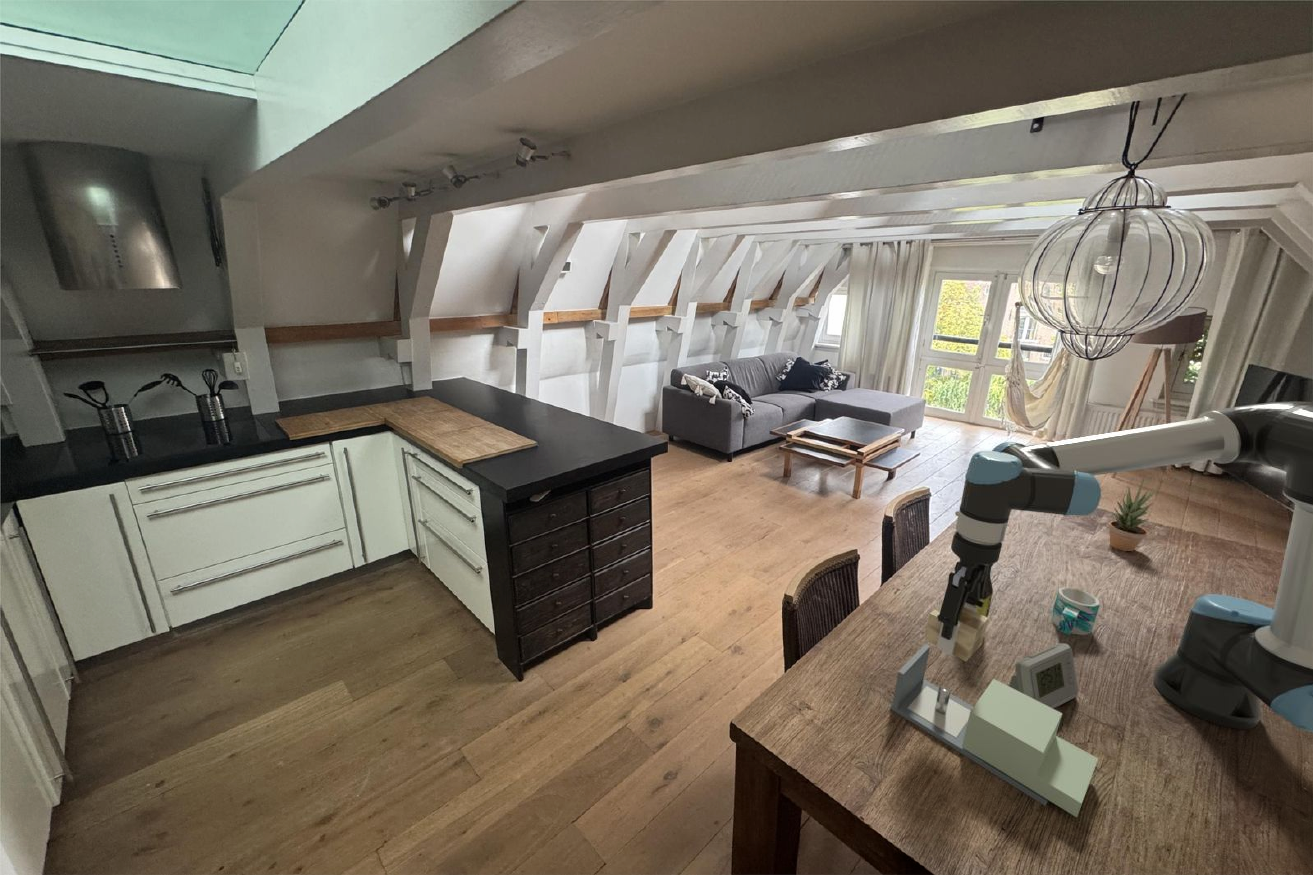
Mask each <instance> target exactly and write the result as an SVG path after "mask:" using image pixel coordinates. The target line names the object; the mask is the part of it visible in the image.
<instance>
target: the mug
mask: <svg viewBox="0 0 1313 875" xmlns="http://www.w3.org/2000/svg"><path fill="white" fill-rule="evenodd" d="M1100 606H1101V603H1100V600H1099V598H1097V597H1096V596H1095V595H1093V594H1092V593H1090V592H1087V591H1084V590H1081V589H1079V588H1077V587H1076V588H1075V587H1067V586H1064V587H1060V588H1058V590H1057V594H1056V598H1055V600H1054V604H1053V608H1052V612H1051V616H1050V619H1051V622H1052V623H1053V624H1054V625H1055V626H1057V631H1059V632H1062V633H1064V634H1067V635H1069V636H1071V635H1072V634H1073V635H1074V634H1075V635H1082V636H1086V635H1089V634H1091V633H1092V631H1093V629H1094V625H1095V621H1096V618H1097V616H1098V613H1099V612H1098V611H1099V609H1100Z"/></svg>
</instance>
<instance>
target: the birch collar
mask: <svg viewBox="0 0 1313 875" xmlns="http://www.w3.org/2000/svg"><path fill="white" fill-rule="evenodd" d="M942 603H943V602H942ZM942 603H940V604H939V605H938V606H937V607H935V608H934V609H933V610H932V611H931V612H930V613H929V615H928V616H929V617H928V621H927V625H926V630H925V634H924V638H923V640H924V641H927V642H928V643H930V644H933V645H934V646H935V647H936V646H937V642H938V637H939V633H940V628H941V624H942V622H940V621H938V618H937V616H938V615H939V614H940V610H941V607H942ZM989 619H990V618H989V617H988V618H987V617H985V616H983V615H981V614H979V613H976V612H974V611H972V610H969V609H967V608H965V607H964V608H963V610H962V613H961V616H960V619H959V621H958V624H960V626H959V630H958V634H957V638H956V643H955V647H954V651H953V654H952V655H953V656H955V657H957V658H959V659H961V660H962V661H964V662H967V661H968V660H969V659H970V658H971V657H972V656H973V655H974V654H975V652H976V651H978V649H979V648H980V647H981V646H982V645H983V641H984V637H985V634H986V631H987V626H988V623H989Z"/></svg>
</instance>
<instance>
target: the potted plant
mask: <svg viewBox="0 0 1313 875" xmlns="http://www.w3.org/2000/svg"><path fill="white" fill-rule="evenodd" d="M1144 480H1145V477H1143V479H1142V480H1141V483H1140V485H1139V487H1138V490H1137V494H1136V496H1135V498H1134V501H1132V500H1133V499H1132V494H1131V488H1130V487H1128V489H1127V493H1126V497H1125V498H1126V499H1124V498H1122V504H1121V503H1120V502H1119V501H1118V500H1117V501H1116V502H1117V503H1116V504H1117V506H1118V508H1119V510H1120V512H1121V513H1119V512H1118V510H1117V509H1116V508H1114V509H1113V510H1114V511H1115V512H1116V513H1117V514H1116V513H1114V511H1111V513H1112V514H1113V515H1114V516H1115V520H1111V521H1109V523H1108V527H1107V528H1108V529H1109V544H1110V546H1111V547H1112V548H1113V547H1114V548H1113V549H1116V550H1118V549H1120V550H1119V551H1121V550H1123V551H1122V552H1126V551H1132V552H1134V551H1135V549H1136V548H1137V547H1138V546H1139V544H1140V543H1141V542H1142V541H1143V540H1144V539H1146V538H1147V536H1148V534H1149V532H1148V530H1146V528H1143V527H1141V526H1139V525H1141V524H1144V523H1145V522H1146V521H1149V518H1146V519H1142V518H1141V517H1143V516H1145V515H1147V514H1148V511H1147V510H1148V509H1150V507H1151V506H1152V505H1153V504H1154V502H1152V503H1149V504H1148V505H1146V506H1143V505H1144V504H1145V503H1146V502H1147V501H1148V500H1149V499H1150V498H1151V497H1153V496H1154V494H1155V493H1156V492H1157V491H1158V490H1159V487H1160V486H1157V487H1156V489H1154V490H1153V491H1152V492H1150V494H1148V493H1149V490H1147V491H1146V492H1145V493H1144V494H1143V495H1142V496H1141V498H1140V495H1141V492H1142V488H1143V486H1144V482H1145V481H1144ZM1142 506H1143V507H1142Z"/></svg>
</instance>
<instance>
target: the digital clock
mask: <svg viewBox="0 0 1313 875" xmlns="http://www.w3.org/2000/svg"><path fill="white" fill-rule="evenodd" d="M1077 680H1078V679H1077V674H1076V667H1075V660H1074V655H1073V649H1072V648H1071V646H1070V645H1069V644H1068V643H1064V642H1061V643H1057V644H1054V645H1053V646H1049V647H1048V648H1045V649H1043V650H1040V651H1038V652H1036V653H1034V654H1031V655H1029V656H1027V657H1025V658H1022V659H1020V660H1019V661H1016V662H1015V674H1014V675H1012V676H1011V677H1010V682H1009V685H1008V686H1009V687H1011V688H1013V689H1015V690H1017V691H1019V692H1021V693H1023V694H1025V695H1027V696H1029V697H1031V698H1033V699H1035V700H1037V701H1039V702H1041V703H1043V704H1045V705H1047V706H1049V707H1050V708H1052V709H1055V708H1057V707H1059V706H1061V705H1063V704H1065V703H1066V702H1069V701H1070V700H1073V699H1074V698H1076V697H1078V695H1079V687H1078V681H1077Z"/></svg>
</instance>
